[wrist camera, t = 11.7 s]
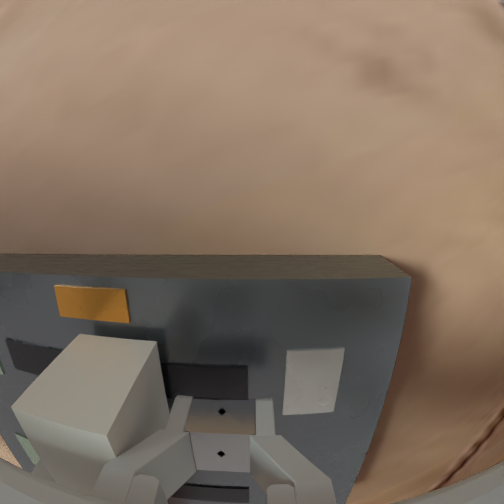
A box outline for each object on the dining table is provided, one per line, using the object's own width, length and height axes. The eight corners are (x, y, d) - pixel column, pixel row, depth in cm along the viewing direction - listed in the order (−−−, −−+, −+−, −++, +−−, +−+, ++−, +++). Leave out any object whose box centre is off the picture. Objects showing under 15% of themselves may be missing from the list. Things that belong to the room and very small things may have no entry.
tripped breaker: (156, 341, 10) (106, 436, 5) (172, 426, 10) (146, 516, 6) (79, 333, 10) (10, 406, 5) (104, 416, 10) (63, 492, 6)
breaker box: (380, 255, 12) (413, 278, 9) (331, 483, 16) (338, 517, 13) (-30, 253, 13) (-65, 267, 10) (41, 449, 16) (26, 474, 13)
